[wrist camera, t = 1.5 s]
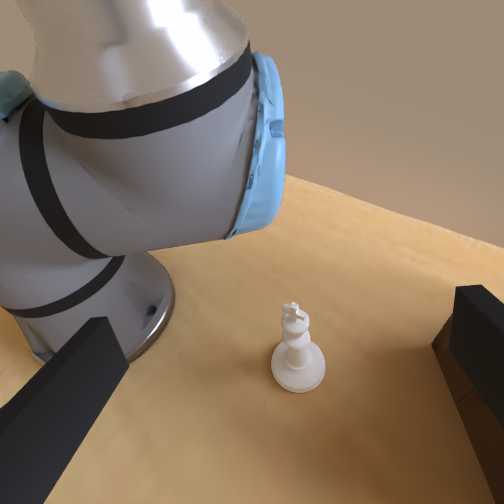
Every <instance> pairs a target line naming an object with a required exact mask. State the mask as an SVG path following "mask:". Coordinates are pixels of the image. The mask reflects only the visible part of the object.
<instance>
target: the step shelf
mask: <svg viewBox="0 0 504 504" xmlns="http://www.w3.org/2000/svg"><path fill="white" fill-rule="evenodd" d="M452 315H453V313H452V314H451V316H450V317H449V318H448V320H447V321H446V323H445V324H444V326H443V327H442V329H441V330H440V332H439V333H438V335H437V336H436V337H435V339H434V340H433V342H432V343H431V345H432V347H433V350H434V352H435V355H436V357H437V360H438V362H439V365H440V367H441V370H442V372H443V374H444V377H445V379H446V382H447V384H448V387H449V389H450V392H451V394H452V397H453V399H454V401H455V404H456V406H457V408H458V411H459V413H460V416H461V418H462V421H463V423H464V426H465V428H466V430H467V433H468V435H469V438H470V440H471V443H472V445H473V448H474V450H475V453H476V455H477V457H478V460H479V462H480V465H481V467H482V470H483V472H484V475H485V477H486V480H487V482H488V484H489V487H490V489H491V492H492V494H493V497H494V499H495V502H496V504H504V429H503V428H502V426H501V425H500V423H499V422H498V420H497V419H496V417H495V416H494V415H493V413H492V412H491V410H490V409H489V407H488V406H487V405H486V403H485V402H484V400H483V399H482V397H481V396H480V394H479V393H478V392H477V390H476V389H475V387H474V386H473V384H472V383H471V381H470V380H469V379H468V377H467V376H466V374H465V373H464V371H463V370H462V369H461V367H460V366H459V364H458V363H457V361H456V360H455V358H454V357H453V356H452V354H451V353H450V351H449V350H448V348H449V340H450V332H451V323H452Z"/></svg>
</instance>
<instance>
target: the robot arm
mask: <svg viewBox="0 0 504 504" xmlns="http://www.w3.org/2000/svg"><path fill="white" fill-rule="evenodd" d="M15 2H16V4H17V5H18V7H19V9H20V10H21V12H22V13H23V15H24V17H25V18H26V20H27V22H28V23H29V25H30V27H31V28H32V30H33V31H34V33H35V40H36V49H35V54H34V59H33V64H32V69H31V74H30V79H29V80H30V82H29V81H28V80H27V79H26V78H25V77H24V75H22V74H21V73H19V72H17V71H14V70H9V71H8V72H0V306H1V307H2V308H4V309H5V310H6V311H8V312H9V313H11V314H12V315H13V316H14V317H15V319H16V321H17V323H18V325H19V326H20V328H21V330H22V332H23V334H24V336H25V337H26V339H27V341H28V343H29V345H30V346H31V348H32V350H33V352H34V353H32V352H31V351H30V350H29V351H30V353H31V354H32V356H33V358H34V359H36V360H37V361H38V362H40V363H41V364H42V365H43V367H42V368H41V369H40V370H39V371H38V372H37V373H36V374H35V375H34V376H33V377H32V378H31V379H30V380H29V381H28V382H27V383H26V384H25V385H24V386H23V387H22V388H21V389H20V390H19V392H18V393H17V394H16V395H15V396H14V397H13V398H12V399H11V400H10V401H9V402H8V403H7V404H5V405H4V406H3V407H1V408H0V504H43V503H44V502H45V500H46V499H47V497H48V495H49V494H50V492H51V491H52V489H53V487H54V486H55V484H56V483H57V481H58V479H59V478H60V476H61V475H62V473H63V471H64V470H65V468H66V467H67V465H68V463H69V462H70V460H71V459H72V457H73V455H74V454H75V452H76V451H77V449H78V448H79V446H80V444H81V443H82V441H83V440H84V438H85V436H86V435H87V433H88V432H89V430H90V428H91V427H92V425H93V424H94V422H95V420H96V419H97V417H98V416H99V414H100V412H101V411H102V409H103V408H104V406H105V404H106V403H107V401H108V400H109V398H110V396H111V395H112V393H113V392H114V390H115V388H116V387H117V385H118V384H119V382H120V380H121V379H122V377H123V376H124V374H125V373H126V371H127V369H128V368H129V363H131V362H132V361H134V360H135V359H137V358H138V357H139V356H141V355H142V354H143V353H144V352H145V351H146V350H148V349H149V348H150V347H151V346H152V344H153V343H154V342H155V341H156V340H157V339H158V338H159V336H160V335H161V333H162V332H163V331H164V329H165V327H166V326H167V324H168V322H169V320H170V317H171V315H172V312H173V308H174V304H175V288H174V284H173V281H172V279H171V277H170V276H169V274H168V272H167V270H166V269H165V267H164V266H163V265H162V264H161V263H160V262H159V261H158V260H157V259H156V258H154V257H153V256H152V255H150V254H149V253H147V252H146V251H152V250H159V249H165V248H171V247H177V246H183V245H190V244H196V243H202V242H208V241H214V240H221V239H224V240H226V239H230V238H232V237H233V236H234V235H238V234H242V233H247V232H251V231H255V230H259V229H262V228H264V227H266V226H267V225H269V224H270V223H271V222H272V221H273V220H274V218H275V217H276V215H277V213H278V211H279V208H280V205H281V201H282V196H283V189H284V181H285V165H286V141H285V137H284V134H283V128H284V104H283V95H282V88H281V83H280V78H279V74H278V71H277V68H276V65H275V63H274V62H273V60H272V58H271V57H269V56H267V55H261V54H260V53H258V52H253V53H251V50H250V41H249V33H248V27H247V24H246V22H245V21H244V20H243V18H242V17H241V16H240V15H239V14H238V13H236V11H234V10H233V9H232V8H231V7H230V6H229V5H228V4H227V3H226V2H224V1H223V0H15ZM448 350H449V351H450V353H451V354H452V356H453V357H454V358H455V360H456V361H457V363H458V364H459V366H460V367H461V369H462V370H463V371H464V373H465V374H466V376H467V377H468V379H469V380H470V381H471V383H472V384H473V386H474V387H475V389H476V390H477V392H478V393H479V394H480V396H481V397H482V399H483V400H484V402H485V403H486V405H487V406H488V407H489V409H490V410H491V412H492V413H493V415H494V416H495V417H496V419H497V420H498V422H499V423H500V425H501V426H502V428H503V429H504V304H503V303H502V302H501V301H500V300H499V299H497V298H496V297H495V296H494V295H493V294H492V293H490V292H489V291H488V290H487V289H486V288H485V287H483V286H482V285H470V286H458V287H456V291H455V299H454V307H453V315H452V323H451V332H450V340H449V348H448Z"/></svg>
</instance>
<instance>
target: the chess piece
mask: <svg viewBox="0 0 504 504" xmlns="http://www.w3.org/2000/svg"><path fill="white" fill-rule="evenodd" d="M282 311H283V312H285V313H284V314H283V316H282V319H281V323H282V326H283V328H284V332H283V336H282V337H283V341H282V342H281V343H280V344H279V345H278V346H277V347H276V348H275V350H274V352H273V355H272V359H271V370H272V373H273V376H274V378H275V380H276V381H277V382H278V383H279V384H280V385H281V386H282V387H283V388H285V389H286V390H288V391H291V392H295V393H304V392H308V391H311V390H313V389H314V388H316V387H317V386H318V385H319V384H320V383H321V381H322V380H323V378H324V375H325V370H326V365H325V360H324V356H323V354H322V352H321V350H320V349H319V347H318V346H317V345H316V344H315V343H313V342H312V341H310V333H309V331H308V330H307V328H308V326H309V317H308V315H307V313H306V312H304V311H302V310H300V309H299V304H297V303H294V302H292V304H291V306H290V305H288V304H286V303H285V304H284V306H283V307H282Z"/></svg>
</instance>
